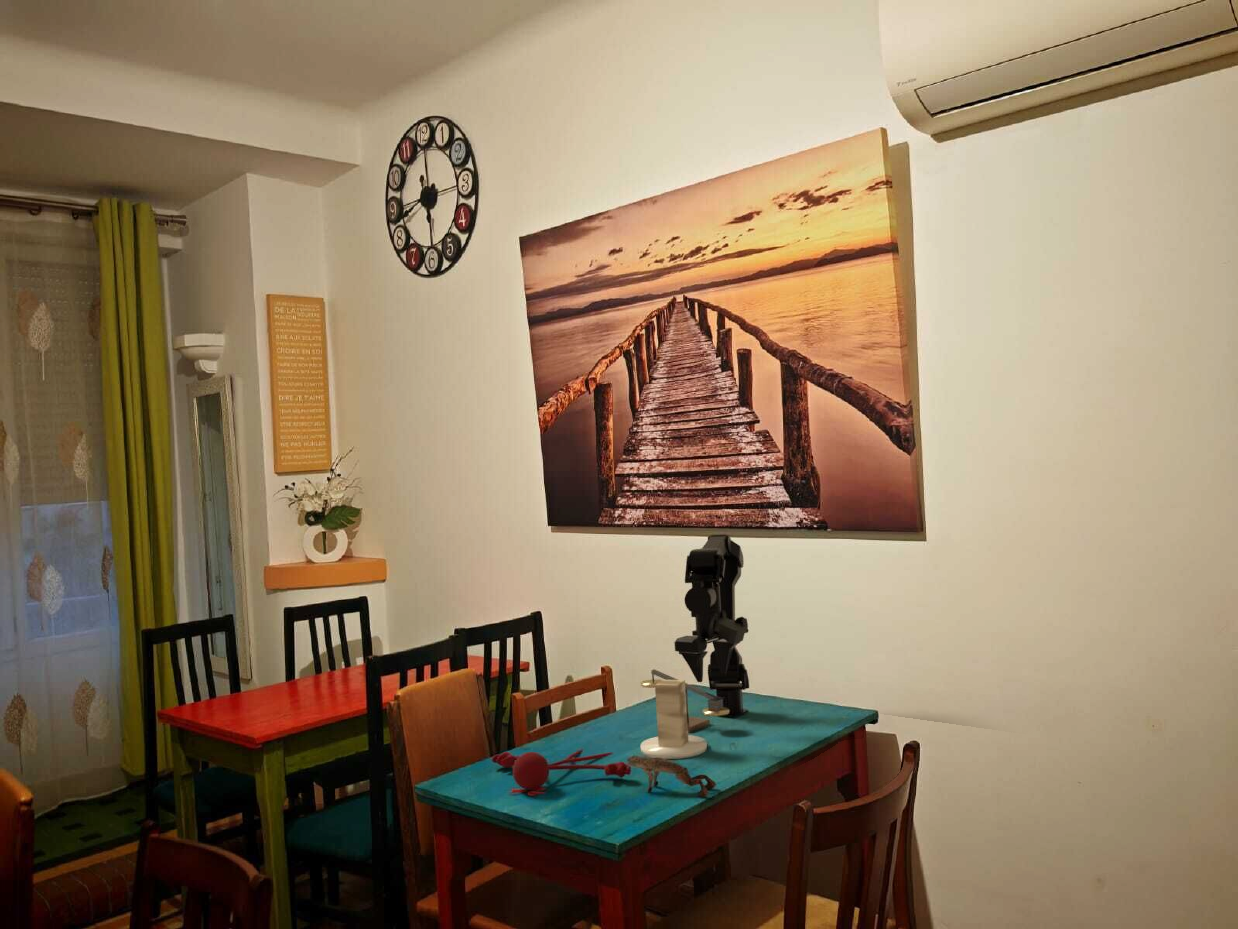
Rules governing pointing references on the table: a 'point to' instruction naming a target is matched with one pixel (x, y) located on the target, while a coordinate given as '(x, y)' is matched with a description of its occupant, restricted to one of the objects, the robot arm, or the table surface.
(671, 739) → the birch block
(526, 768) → the toy
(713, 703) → the balance
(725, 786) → the table surface
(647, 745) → the saucer
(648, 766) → the toy
